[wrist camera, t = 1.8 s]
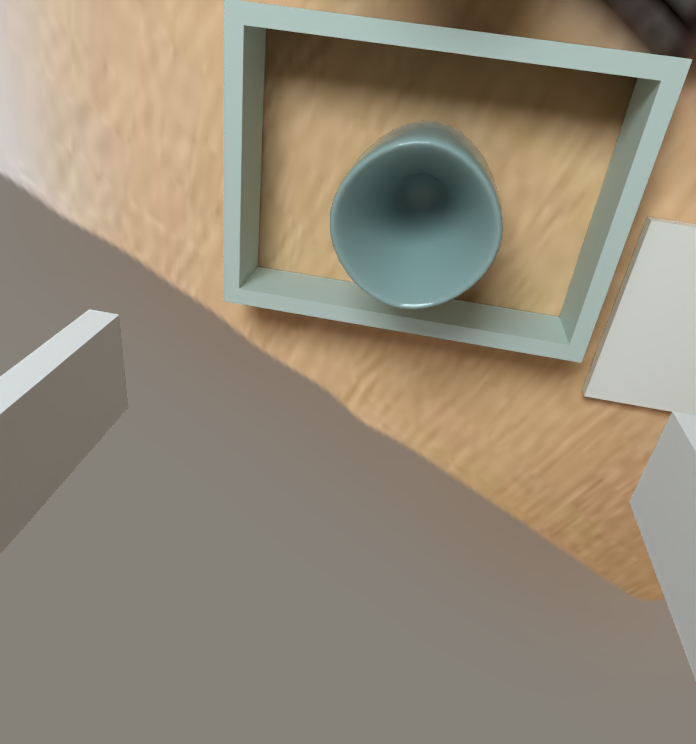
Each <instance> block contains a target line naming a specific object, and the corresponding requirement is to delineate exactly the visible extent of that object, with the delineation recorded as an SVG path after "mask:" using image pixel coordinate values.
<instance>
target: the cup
mask: <svg viewBox="0 0 696 744" xmlns="http://www.w3.org/2000/svg"><path fill="white" fill-rule="evenodd" d="M502 232H503V217H502V206H501V202H500V198H499V194H498V191H497V187H496V184H495V180H494V177H493V174H492V172H491V170H490V168H489V166H488V164H487V162H486V160H485V158H484V156H483V155H482V154H481V152H480V151H479V150H478V148H477V147H476V146H475V144H474V143H473V142H472V141H471V140H470V139H469V138H467V137H466V136H465V135H464V134H463V133H462V132H460V131H459V130H457V129H455V128H453V127H452V126H450V125H447V124H444V123H441V122H437V121H418V122H413V123H408V124H406V125H403V126H401V127H398V128H396V129H394V130H392V131H390V132H389V133H387V134H385V135H384V136H382V137H381V138H379V139H378V140H377V141H376V142H375V143H373V144H372V145H371V146H370V147H369V148H368V149H367V150H366V151H365V152H364V153H363V154H362V155H361V156H360V157H359V159H358V160H357V161H356V163H355V164H354V165H353V166H352V168H351V169H350V170H349V172H348V173H347V174H346V176H345V177H344V178H343V180H342V182H341V184H340V186H339V188H338V190H337V192H336V194H335V196H334V199H333V203H332V207H331V212H330V233H331V238H332V242H333V247H334V249H335V251H336V254H337V256H338V258H339V261H340V263H341V264H342V266H343V267H344V269H345V270H346V272H347V274H348V275H349V276H350V277H351V278H352V280H353V281H354V282H355V283H356V284H357V285H358V286H359V287H360V288H361V289H362V290H364V291H365V292H366V293H367V294H368V295H370V296H371V297H373V298H375V299H376V300H378V301H380V302H382V303H384V304H386V305H390V306H393V307H396V308H401V309H422V308H430V307H433V306H436V305H439V304H443V303H445V302H447V301H449V300H451V299H453V298H455V297H458V296H459V295H461V294H462V293H464V292H465V291H466V290H468V289H469V288H471V287H472V286H473V285H474V284H475V283H476V282H477V281H478V280H479V279H480V278H481V277H482V276H483V275H484V274H485V273H486V271H487V270H488V269H489V267H490V266H491V264H492V263H493V261H494V259H495V257H496V255H497V252H498V250H499V247H500V245H501V239H502Z"/></svg>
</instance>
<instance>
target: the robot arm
mask: <svg viewBox="0 0 696 744" xmlns="http://www.w3.org/2000/svg"><path fill="white" fill-rule="evenodd" d="M127 409H128V401H127V390H126V380H125V370H124V360H123V349H122V339H121V329H120V319H119V315H118V314H112V313H106V312H101V311H95V310H88V311H87V312H85V313H84V314H83V315H81V316H80V317H79V318H77V319H76V320H75V321H74V322H72V323H71V324H70V325H68V326H67V327H65V328H64V329H63V330H61V331H60V332H59V333H58V334H56V335H55V336H53V337H52V338H51V339H50V340H48V341H47V342H46V343H44V344H43V345H42V346H40V347H39V348H38V349H36V350H35V351H34V352H32V353H31V354H30V355H28V356H27V357H26V358H24V359H23V360H22V361H20V362H19V363H18V364H17V365H15V366H14V367H12V368H11V369H10V370H8V371H7V372H6V373H5V374H3V375H2V376H1V377H0V554H1V553H2V552H3V551H4V550H5V548H6V547H7V546H8V545H9V544H10V543H11V541H12V540H13V539H14V538H15V537H16V536H17V535H18V534H19V532H20V531H21V530H22V529H23V528H24V527H25V526H26V524H27V523H28V522H29V521H30V520H31V519H32V517H33V516H34V515H35V514H36V513H37V511H38V510H39V509H40V508H41V507H42V506H43V505H44V504H45V503H46V501H47V500H48V499H49V498H50V497H51V496H52V495H53V493H54V492H55V491H56V490H57V489H58V487H59V486H60V485H61V484H62V483H63V482H64V481H65V480H66V479H67V477H68V476H69V475H70V474H71V473H72V472H73V471H74V469H75V468H76V467H77V466H78V465H79V464H80V463H81V461H82V460H83V459H84V458H85V457H86V456H87V455H88V453H89V452H90V451H91V450H92V449H93V448H94V446H95V445H96V444H97V443H98V442H99V441H100V440H101V438H102V437H103V436H104V435H105V434H106V433H107V432H108V430H109V429H110V428H111V427H112V426H113V425H114V424H115V422H116V421H117V420H118V419H119V418H120V417H121V415H122V414H123V413H124V412H125V411H126V410H127ZM629 503H630V505H631V508H632V511H633V513H634V516H635V519H636V522H637V524H638V527H639V530H640V532H641V535H642V538H643V540H644V543H645V546H646V549H647V551H648V554H649V557H650V559H651V562H652V565H653V567H654V570H655V573H656V576H657V578H658V581H659V584H660V586H661V589H662V592H663V594H664V597H665V600H666V603H667V605H668V608H669V611H670V613H671V616H672V619H673V621H674V624H675V627H676V630H677V632H678V635H679V638H680V640H681V643H682V646H683V648H684V651H685V654H686V657H687V659H688V662H689V664H690V667H691V670H692V673H693V675H694V678H695V681H696V415H690V414H685V413H679V412H673V411H672V413H671V415H670V417H669V420H668V422H667V424H666V426H665V428H664V430H663V432H662V434H661V436H660V438H659V440H658V443H657V445H656V447H655V449H654V451H653V453H652V455H651V457H650V459H649V461H648V463H647V466H646V468H645V470H644V472H643V474H642V476H641V478H640V480H639V482H638V484H637V486H636V489H635V491H634V493H633V495H632V497H631V499H630V501H629Z"/></svg>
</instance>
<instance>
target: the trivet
mask: <svg viewBox="0 0 696 744" xmlns="http://www.w3.org/2000/svg"><path fill="white" fill-rule="evenodd" d="M582 391H583V394H584V396H585V397H591V398H597V399H602V400H608V401H614V402H619V403H625V404H631V405H636V406H642V407H648V408H653V409H659V410H665V411H670V412H672V411H673V412H679V413H685V414H690V415H696V224H693V223H686V222H679V221H673V220H666V219H660V218H653V217H647V219H646V222H645V224H644V227H643V230H642V232H641V235H640V238H639V240H638V243H637V246H636V248H635V251H634V254H633V256H632V259H631V262H630V264H629V267H628V270H627V272H626V275H625V277H624V280H623V283H622V285H621V288H620V291H619V293H618V296H617V299H616V301H615V304H614V307H613V309H612V312H611V315H610V317H609V320H608V323H607V325H606V328H605V331H604V333H603V336H602V339H601V341H600V344H599V346H598V349H597V352H596V354H595V357H594V360H593V362H592V365H591V368H590V370H589V373H588V376H587V378H586V381H585V384H584V386H583V389H582Z"/></svg>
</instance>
